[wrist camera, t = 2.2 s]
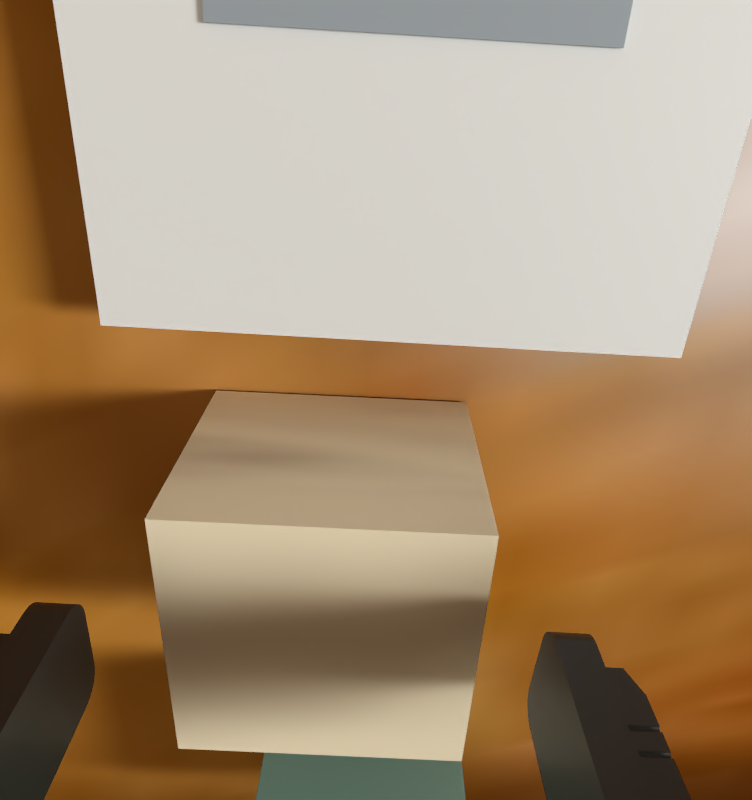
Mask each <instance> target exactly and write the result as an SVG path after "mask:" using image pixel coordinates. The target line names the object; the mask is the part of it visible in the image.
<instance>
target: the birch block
mask: <svg viewBox="0 0 752 800" xmlns="http://www.w3.org/2000/svg"><path fill="white" fill-rule="evenodd" d="M145 526H146V533H147V539H148V546H149V553H150V560H151V567H152V573H153V580H154V587H155V594H156V601H157V607H158V614H159V621H160V628H161V635H162V641H163V648H164V655H165V662H166V669H167V675H168V682H169V689H170V696H171V703H172V709H173V716H174V723H175V730H176V737H177V743H178V749H199V750H221V751H243V752H265V753H288V754H310V755H332V756H354V757H376V758H398V759H421V760H443V761H462V755H463V749H464V743H465V737H466V731H467V725H468V719H469V713H470V707H471V701H472V695H473V689H474V683H475V677H476V671H477V665H478V659H479V653H480V647H481V641H482V635H483V629H484V623H485V617H486V611H487V605H488V599H489V592H490V586H491V580H492V574H493V568H494V562H495V556H496V550H497V544H498V538H499V534H498V530H497V526H496V522H495V518H494V514H493V510H492V506H491V502H490V498H489V493H488V489H487V485H486V481H485V477H484V473H483V469H482V465H481V461H480V456H479V452H478V448H477V444H476V440H475V436H474V432H473V428H472V424H471V420H470V415H469V411H468V407H467V403H466V402H446V401H425V400H404V399H383V398H362V397H341V396H320V395H300V394H279V393H258V392H237V391H216V392H215V394H214V395H213V397H212V399H211V401H210V403H209V404H208V406H207V408H206V410H205V412H204V413H203V415H202V417H201V419H200V421H199V422H198V424H197V426H196V428H195V430H194V431H193V433H192V435H191V437H190V439H189V440H188V442H187V444H186V446H185V447H184V449H183V451H182V453H181V455H180V456H179V458H178V460H177V462H176V464H175V465H174V467H173V469H172V471H171V473H170V474H169V476H168V478H167V480H166V482H165V483H164V485H163V487H162V489H161V491H160V492H159V494H158V496H157V498H156V500H155V501H154V503H153V505H152V507H151V509H150V510H149V512H148V514H147V516H146V518H145Z"/></svg>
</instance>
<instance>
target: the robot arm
mask: <svg viewBox="0 0 752 800" xmlns="http://www.w3.org/2000/svg"><path fill="white" fill-rule="evenodd" d="M94 675H95V665H94V659H93V654H92V648H91V643H90V638H89V632H88V627H87V622H86V616H85V612H84V609H83V607H82V606H81V605H78V604H60V603H42V602H35V603H32V604H31V605H30V606H29V607H28V608H27V609H26V610H25V612H24V613H23V615H22V616H21V618H20V619H19V621H18V623H17V624H16V626H15V627H14V629H13V630H12V632H11V633H10V634H0V800H44V798H45V796H46V794H47V791H48V789H49V787H50V785H51V783H52V781H53V778H54V776H55V774H56V772H57V770H58V767H59V765H60V763H61V761H62V759H63V756H64V754H65V752H66V750H67V748H68V745H69V743H70V741H71V739H72V737H73V735H74V732H75V730H76V728H77V726H78V724H79V721H80V719H81V717H82V715H83V713H84V710H85V708H86V706H87V704H88V701H89V698H90V695H91V692H92V688H93V683H94ZM528 718H529V725H530V730H531V734H532V739H533V743H534V747H535V752H536V756H537V760H538V764H539V769H540V773H541V777H542V782H543V786H544V790H545V794H546V799H547V800H691V798H690V796H689V794H688V791H687V789H686V787H685V784H684V782H683V780H682V777H681V775H680V773H679V770H678V768H677V766H676V763H675V761H674V759H672V758H671V756H670V750H669V747H668V745H667V743H666V740H665V738H664V736H663V733H662V732H660V730H659V724H658V722H657V719H656V717H655V715H654V712H653V710H652V708H651V706H650V703H649V701H648V699H647V696H646V695H645V694H644V692H643V691H642V690H641V689H640V688H639V687H638V685H637V684H636V683H635V682H634V681H633V680H632V678H631V677H630V676H629V675H628V674H627V673H626V671H625V670H624V669H623V668H608V667H605V665H604V662H603V660H602V657H601V655H600V652H599V649H598V647H597V644H596V642H595V640H594V638H593V637H592V636H591V635H590V634H579V633H560V632H546V633H545V635H544V637H543V640H542V643H541V647H540V651H539V654H538V658H537V661H536V665H535V669H534V672H533V676H532V680H531V683H530V687H529V693H528Z"/></svg>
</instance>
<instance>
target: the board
mask: <svg viewBox="0 0 752 800" xmlns="http://www.w3.org/2000/svg"><path fill="white" fill-rule="evenodd" d="M53 6H54V12H55V19H56V26H57V33H58V39H59V46H60V53H61V60H62V66H63V73H64V80H65V87H66V94H67V100H68V107H69V114H70V121H71V127H72V134H73V141H74V148H75V154H76V161H77V168H78V175H79V181H80V188H81V195H82V202H83V208H84V215H85V222H86V229H87V235H88V242H89V249H90V256H91V263H92V269H93V276H94V283H95V290H96V296H97V303H98V310H99V317H100V323H101V325H104V326H122V327H140V328H158V329H175V330H193V331H211V332H228V333H246V334H264V335H282V336H299V337H317V338H335V339H353V340H370V341H388V342H406V343H423V344H441V345H459V346H477V347H494V348H512V349H530V350H547V351H565V352H583V353H601V354H618V355H636V356H654V357H671V358H681V356H682V353H683V350H684V346H685V343H686V339H687V336H688V332H689V329H690V326H691V322H692V319H693V315H694V312H695V309H696V305H697V302H698V298H699V295H700V291H701V288H702V285H703V281H704V278H705V274H706V271H707V268H708V264H709V261H710V257H711V254H712V250H713V247H714V244H715V240H716V237H717V233H718V230H719V227H720V223H721V220H722V216H723V213H724V209H725V206H726V203H727V199H728V196H729V192H730V189H731V186H732V182H733V179H734V175H735V172H736V168H737V165H738V162H739V158H740V155H741V151H742V148H743V145H744V141H745V138H746V134H747V131H748V127H749V124H750V121H751V117H752V0H53Z"/></svg>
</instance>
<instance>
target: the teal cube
mask: <svg viewBox="0 0 752 800" xmlns="http://www.w3.org/2000/svg"><path fill="white" fill-rule="evenodd" d="M256 800H466V797H465V788H464V779H463V769H462V761H443V760H421V759H398V758H376V757H354V756H332V755H310V754H288V753H265V752H264V757H263V763H262V768H261V774H260V779H259V785H258V790H257V795H256Z"/></svg>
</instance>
